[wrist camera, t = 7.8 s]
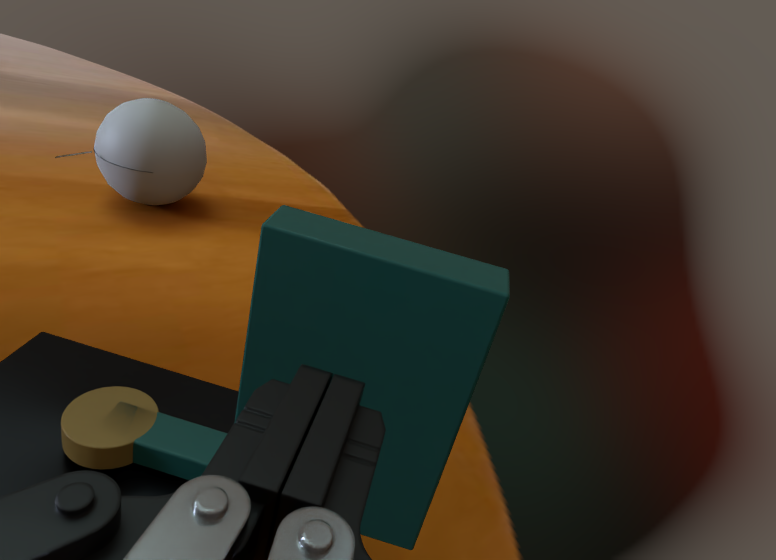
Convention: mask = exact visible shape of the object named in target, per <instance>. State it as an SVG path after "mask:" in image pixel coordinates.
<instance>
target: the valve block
mask: <svg viewBox="0 0 776 560" xmlns="http://www.w3.org/2000/svg"><path fill="white" fill-rule="evenodd" d="M112 386H121V387H129V388H134V389H137V390H140V391H142V392H144V393H146V394H147V395H149V396H150V397H151V398H152V399H153V400H154V401H155V403H156V405H157V407H158V411H159V412H160V413H163V414H166V415H170V416H173V417H176V418H179V419H183V420H186V421H189V422H192V423H196V424H199V425H202V426H205V427H208V428H212V429H215V430H218V431H221V432H225V433H228V432H229V431H230V429H231V427H232V426H233V424H234V423H235V416H236V409H237V401H238V394H239V392H238V391H235V390H232V389H228V388H225V387H222V386H219V385H215V384H212V383H209V382H206V381H202V380H199V379H196V378H192V377H189V376H186V375H183V374H179V373H176V372H173V371H170V370H166V369H163V368H160V367H157V366H153V365H150V364H147V363H143V362H140V361H137V360H134V359H130V358H127V357H124V356H121V355H117V354H114V353H111V352H108V351H104V350H101V349H98V348H94V347H91V346H88V345H85V344H81V343H78V342H75V341H72V340H68V339H65V338H62V337H59V336H55V335H52V334H49V333H45V332H41V333H39V334H38V335H37V336H35V337H34V338H32V339H31V340H30V341H28V342H27V343H26V344H24V345H23V346H22V347H20V348H19V349H18V350H16V351H15V352H13V353H12V354H11V355H9V356H8V357H7V358H5V359H4V360H3V361H1V362H0V496H3V495H6V494H9V493H12V492H14V491H17V490H20V489H23V488H26V487H28V486H31V485H34V484H37V483H40V482H42V481H45V480H48V479H51V478H54V477H56V476H59V475H62V474H65V473H69V472H74V471H83V470H88V471H96V472H100V473H103V474H106V475H107V476H109V477H111V478H112V479H113V480H114V481H115V482H116V483H117V485H118V486H119V488H120V491H121V496H162V495H168V494H172V493H175V492H176V490H177V489H178V488H179V487H180V486H182V485H183V484H184V483H186V482H188V481H189V480H187V479H184V478H180V477H177V476H174V475H171V474H168V473H165V472H161V471H158V470H155V469H152V468H149V467H146V466H142V465H139V464H136V463H131V464H129V465H126V466H123V467H119V468H114V469H91V468H87V467H83V466H81V465H78V464H77V463H75V462H73V461H72V460H71V459H70V458H69V457H68V456H67V455H66V454H65V452H64V450H63V447H62V437H61V418H62V414H63V412H64V410H65V409H66V407H67V406H68V405H69V404H70V403H71V402H72V401H73V400H74V399H76V398H77V397H79V396H81V395H82V394H84V393H87V392H89V391H92V390H95V389H99V388H104V387H112Z"/></svg>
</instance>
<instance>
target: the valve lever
mask: <svg viewBox="0 0 776 560" xmlns="http://www.w3.org/2000/svg"><path fill="white" fill-rule="evenodd" d="M509 297H510V295H509V271H508V270H507V269H504V268H501V267H497V266H494V265H490V264H487V263H483V262H480V261H476V260H472V259H469V258H466V257H463V256H459V255H456V254H452V253H449V252H445V251H442V250H438V249H435V248H431V247H428V246H424V245H421V244H417V243H414V242H410V241H407V240H403V239H400V238H397V237H393V236H389V235H386V234H383V233H379V232H376V231H372V230H369V229H365V228H362V227H358V226H355V225H351V224H348V223H344V222H341V221H337V220H334V219H331V218H327V217H324V216H320V215H317V214H313V213H310V212H306V211H303V210H299V209H296V208H292V207H289V206H285V205H282V206H281V207H280V208H279V209H278V210H277V211H276V212H274V213H273V214H272V215H271V216H270V217H269V218H268V219H267V220H266V221H265V222H264V223H263V224H262V228H261V235H260V242H259V249H258V257H257V264H256V271H255V278H254V286H253V293H252V300H251V307H250V314H249V322H248V329H247V336H246V343H245V351H244V358H243V365H242V372H241V380H240V387H239V394H238V401H237V409H236V416H235V422H236V419H237V418H238V416H239V414H240V413H241V411H242V410H244V407H245V405H246V403H247V402H248V400H249V398H250V397H251V395H252V394H253V392H254V390H256V389H257V388H259V387H260V386H262V385H263V384H265V383H267V382H268V381H270V380H271V379H275V380H278V381H281V382H284V383H288V384H291V382H292V380H293V378H294V376H295V374H296V373H297V371H298V369H299V367H300V366H301V364H304V365H308V366H311V367H314V368H318V369H321V370H324V371H327V372H331V373H333V376H334V374H338V375H341V376H344V377H348V378H351V379H354V380H358V381H361V382H364V383H365V387H364V391H363V395H362V399H361V402H360V406H364V407H367V408H370V409H373V410H377V411H380V412H381V414H382V418H383V421H384V425H385V429H386V431H385V435H384V439H383V443H382V446H381V450H380V454H379V457H378V461H377V465H376V469H375V472H374V476H373V480H372V484H371V487H370V491H369V495H368V498H367V502H366V506H365V510H364V513H363V517H362V521H361V526H360V534H361V535H364V536H367V537H371V538H374V539H377V540H380V541H383V542H386V543H390V544H393V545H396V546H399V547H402V548H405V549H409V550H412V549H413V548H414V546H415V543H416V540H417V538H418V535H419V532H420V530H421V527H422V525H423V522H424V519H425V517H426V514H427V512H428V509H429V506H430V504H431V501H432V499H433V496H434V493H435V491H436V488H437V486H438V483H439V480H440V478H441V475H442V472H443V470H444V467H445V465H446V462H447V459H448V457H449V454H450V452H451V449H452V446H453V444H454V441H455V439H456V436H457V433H458V431H459V428H460V426H461V423H462V420H463V418H464V415H465V413H466V410H467V407H468V405H469V402H470V399H471V397H472V394H473V391H474V389H475V386H476V384H477V381H478V379H479V376H480V373H481V371H482V368H483V366H484V363H485V360H486V358H487V355H488V353H489V350H490V347H491V345H492V342H493V339H494V337H495V334H496V332H497V329H498V326H499V324H500V321H501V318H502V316H503V313H504V311H505V308H506V306H507V303H508V300H509ZM332 378H333V377H332ZM227 434H228V433H225V432H221V431H218V430H215V429H212V428H208V427H205V426H202V425H199V424H196V423H192V422H189V421H186V420H183V419H179V418H176V417H173V416H170V415H166V414H163V413H160V412H159V411H158V407H157V405H156V403H155V401H154V400H153V399H152V398H151V397H150V396H149V395H147V394H146V393H144V392H142V391H140V390H137V389H134V388H129V387H121V386H112V387H104V388H99V389H95V390H92V391H89V392H87V393H84V394H82V395H81V396H79V397H77V398H76V399H74V400H73V401H72V402H71V403H70V404H69V405H68V406H67V407H66V409H65V410H64V412H63V414H62V418H61V437H62V447H63V450H64V452H65V454H66V455H67V456H68V457H69V458H70V459H71V460H72V461H73V462H75V463H77V464H78V465H81V466H83V467H87V468H91V469H114V468H119V467H123V466H126V465H129V464H131V463H136V464H139V465H142V466H146V467H149V468H152V469H155V470H158V471H161V472H165V473H168V474H171V475H174V476H177V477H180V478H184V479H187V480H191V479H194V478H196V477H200V476H201V475H202V473H203V472H204V471H205V469H206V467H207V466H208V464H209V463H210V461H211V459H212V458H213V456H214V455H215V453H216V451H217V450H218V448H219V447H220V445H221V443H222V442H223V440H224V439H225V437H226V435H227Z"/></svg>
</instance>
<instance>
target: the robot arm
mask: <svg viewBox="0 0 776 560" xmlns="http://www.w3.org/2000/svg"><path fill="white" fill-rule="evenodd" d="M332 377H333V378H332ZM364 387H365V383H364V382H361V381H358V380H354V379H351V378H348V377H344V376H341V375H338V374H334V376H333V373H331V372H327V371H324V370H321V369H318V368H314V367H311V366H308V365H304V364H301V366H300V367H299V369H298V371H297V373H296V374H295V376H294V378H293V380H292V382H291V384H288V383H284V382H281V381H278V380H275V379H271V380H270V381H268V382H267V383H265V384H263V385H262V386H260V387H259V388H257V389H256V390H254V392H253V394H252V395H251V397H250V398H249V400H248V402H247V403H246V405H245V407H244V410H242V411H241V413H240V414H239V416H238V418H237V419H236V422H235V423H234V424H233V426H232V427H231V429H230V431H229V432H228V434H227V435H226V437H225V439H224V440H223V442H222V443H221V445H220V447H219V448H218V450H217V451H216V453H215V455H214V456H213V458H212V459H211V461H210V463H209V464H208V466H207V467H206V469H205V471H204V472H203V473H202V475H201V476H200V477H196V478H194V479H191V480H189V481H188V482H186V483H184V484H183V485H182V486H180V487H179V488H178V489H177V490H176V492H175V493H172V494H168V495H162V496H121V491H120V488H119V486H118V485H117V483H116V482H115V481H114V480H113V479H112V478H111V477H109V476H107V475H106V474H103V473H100V472H96V471H88V470H83V471H74V472H69V473H65V474H62V475H59V476H56V477H54V478H51V479H48V480H45V481H42V482H40V483H37V484H34V485H31V486H28V487H26V488H23V489H20V490H17V491H14V492H12V493H9V494H6V495H3V496H0V560H372V559H371V558H370V557H369V555H368V554H367V552H366V550H365V548H364V546H363V543H362V540H361V535H360V526H361V521H362V517H363V513H364V510H365V506H366V502H367V498H368V495H369V491H370V487H371V484H372V480H373V476H374V472H375V469H376V465H377V461H378V457H379V454H380V450H381V446H382V443H383V439H384V435H385V431H386V429H385V425H384V421H383V418H382V414H381V412H380V411H377V410H373V409H370V408H367V407H364V406H360V402H361V399H362V395H363V391H364Z"/></svg>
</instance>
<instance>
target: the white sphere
mask: <svg viewBox="0 0 776 560" xmlns="http://www.w3.org/2000/svg"><path fill="white" fill-rule="evenodd" d="M94 152H95V156H96V162H97V165H98V167H99V169H100V171H101V173H102V174H103V176H104V178H105V179H106V181H107V183H108V185H110V186H111V187H112V188H113V189H115V190H116V191H117V192H118V193H119V194H121V195H122V196H123V197H125V198H127V199H129V200H132V201H134V202H138V203H142V204H146V205H163V204H169V203H174V202H176V201H179V200H180V199H182V198H183V197H185V196H186V195H188V194H189V193H191V192H192V191H193V190H194V189H195V187H196V186H197V184H198V183H199V182H200V180H201V179H202V177H203V174H204V170H205V167H206V163H207V158H206V146H205V140H204V138H203V136H202V134H201V131H200V129H199V127H198V126H197V125H196V124H195V122H194V121H193V120H192V119H191V118H190V117H189V116H188V115H187V114H186V113H185V112H184V111H183V110H181V109H179V108H177V107H176V106H174V105H172V104H170V103H168V102H166V101H163V100H159V99H152V98H141V99H136V100H132V101H128V102H125V103H122V104H120V105H119V106H118V107H116V108H115V109H114V110H112V111H111V112H109V113H108V114H107V115H106V117H105V119H104V120H103V122H102V124H101V125H100V127H99V129H98V131H97V134H96V140H95V145H94ZM85 153H92V151H90V152H82V153H76V154H69V155H62V156H56V157H55V158H58V157H64V156H72V155H78V154H85Z"/></svg>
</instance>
